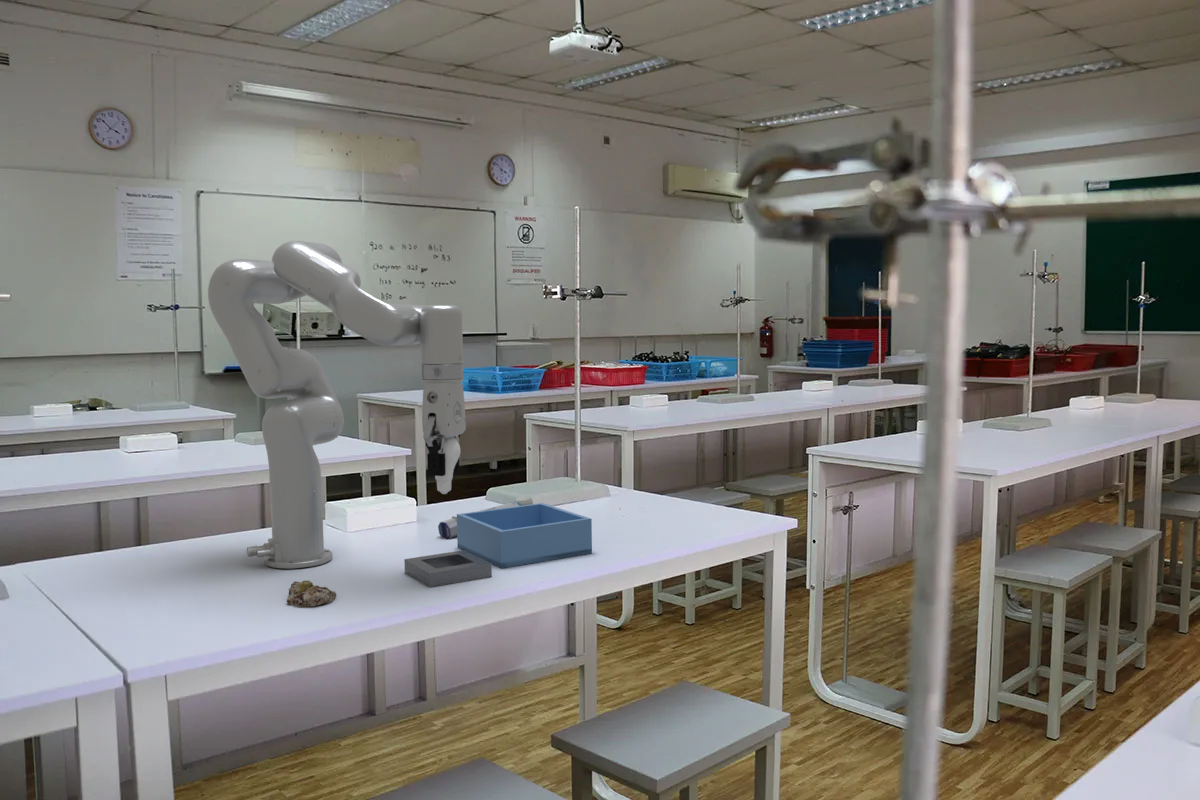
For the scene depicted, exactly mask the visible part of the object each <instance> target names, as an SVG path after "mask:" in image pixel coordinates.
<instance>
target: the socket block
mask: <svg viewBox="0 0 1200 800" xmlns="http://www.w3.org/2000/svg"><path fill="white" fill-rule="evenodd" d="M492 565H493V564H492V563H490V562H488V561H486V560H484V559H482V558H480V557H477V556H475V555H473V554H471V553H469V552H467V551H465V550H461V549H460V550H457V551H456V550H455V551H449V552H443V553H437V554H430V555H424V556H417V557H411V558H405V559H404V573H405V574H406V575H408V576H410V577H412V578H414V579H415V580H417V581H419V582H420V583H422V584H423V583H424V584H423V585H425V584H426V585H425V586H427V587H429V588H433V586H435V587H439V586H438V585H440V586H445V585H444V584H446V585H450V584H449V583H452V584H456V583H455V582H458V583H462V582H463V581H464V582H468V581H469V582H470V581H475V580H480V579H486V578H492V577H493V573H492V570H493V569H492V568H493V567H492Z"/></svg>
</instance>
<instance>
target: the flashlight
mask: <svg viewBox="0 0 1200 800" xmlns="http://www.w3.org/2000/svg"><path fill="white" fill-rule="evenodd" d="M531 504H534V502H533V498H532V497H531V496H530V495H529V496H526V495H525V496H519V497H518V498H515V500H514V501H513V502H508V503H504V504H502V505H497V506H494V507H489V508H486V509H482V510H480V511H485V510H493V509H500V508H508V507H516V506H523V505H531ZM437 527H438V534H439V535H440V537H441V538H443V539H446V540H448V539H452V538H455V537H457V516H455V515H453V516H452V517H451V518H449V519H447V520H444V521H440V522H439V524H438V526H437Z"/></svg>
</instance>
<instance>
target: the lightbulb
mask: <svg viewBox="0 0 1200 800" xmlns="http://www.w3.org/2000/svg"><path fill="white" fill-rule="evenodd" d="M436 436H441V434H438V435H436ZM436 441H437V443H438V445H439V440H436ZM459 443H460V442H459ZM459 443H458V441H457V440H456V439H455V438H454V437H450V438H446V437H445V441H444V449H443V453H445V468H446V474H445V475H444V476H434V478H435V481H436V489H437V490H436V491H438V492H440V493H441V494H442V495H447V494H448V492H451V490H452V480H453V477H454V471H455V470H454V467H455V465H456V463H457V461H458V459H459V460H460V456H461V444H460V445H459Z"/></svg>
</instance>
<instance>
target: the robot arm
mask: <svg viewBox="0 0 1200 800" xmlns="http://www.w3.org/2000/svg"><path fill="white" fill-rule="evenodd" d="M361 282H362V281H361V277H360V275H359V273H358V272H357V271H356V270H355V269H353V268H352V267H350V266H348V265H346V264H344V263H343V262H342V258H341V257H340V255H339V253H338V252H337V250H335V249H334V248H332V247H331V246H329V245H327V244H324V243H319V242H309V241H304V240H303V241H302V240H292V241H291V240H290V241H287V242H285V243H283V244H281V245H279V246H278V247H277V248H276V249H275V251H274V253H273V255H272V257H271V260H270V261H269V260H261V259H260V260H259V259H247V258H245V259H244V258H240V259H239V258H236V259H231V260H228V261H225V262H223V263H221V264H220V265H219V266H217V267H216V269H215V270H214V271H213V273H212V274H211V276H210V279H209V283H208V287H207V289H208V290H207V293H208V294H207V297H208V298H207V299H208V305H209V307H210V308H209V309H210V311H211V313H212V316H213V318H214V319H215V321H216V323H217V325H218V327H219V328H220V330H221V331H222V333H223V335H224V337H225V338H226V339H227V342H228V344H229V346H230V349H231V350H232V353H233V355H234V357H235V359H236V361H237V363H238V365H239V368H240V370H241V372H242V374H243V375H244V378H245V381H246V382H247V384H248V386H249V388H250V389H251V391H252V392H253V393H254V394H255V395H256V396H257V397H258V398H261V399H270V400H271V399H272V400H273V399H280V398H290V399H286V400H282V401H278V402H277V403H275V404H273V405H271V406H270V407H269V408H268V409H267V410H266V411H265V414H264V415H263V417H262V421H261V431H262V433H261V434H262V439H263V440H264V445H265V450H266V455H267V461H268V473H269V474H268V475H269V476H268V477H269V478H268V479H269V491H270V493H269V494H270V495H269V498H270V516H271V517H270V518H271V520H270V521H271V537H272V538H268V540H267V542H264V543H263V544H262V545H253V546H247V547H246V556H247V558H251V557H256V558H264V564H265V565H266V567H267V566H268V567H270V568H274V569H285V570H286V569H302V568H309V567H310V568H311V567H314V566H320V565H323V564H326V563H328V562H330V561H331V560H332V559H333V551H331V550H329V549H327V548H325V547H324V545H325V543H324V521H323V520H324V518H323V513H324V512H323V494H322V493H323V491H322V490H323V489H322V472H321V471H322V469H321V466H320V462H319V459H318V456H317V454H316V452H315V451H316V450H314V446H317V445H321V444H325V443H326V444H327V443H329V442H332V441H334V440H335V439H336V438H338V437H339V436H340V435H341V433H342V431H343V430H344V425H345V419H344V417H345V416H344V412H343V409H342V406H341V404H340V402H339V400H338V397H337V395H336V393H335V391H334V389H333V387H332V386H331V383H330V380H329V378H328V377H327V375H326V373H325V371H324V369H323V367H322V364H321V363H320V362H319V361H318V359H317V357H315V356H314V355H313V354H311V353H310V352H308V351H306V350H305V349H300V348H284V347H283V345H282V344H281V343H280V342H279V339H278V338H277V336H276V333H275V331H274V329H273V327H272V325H271V324H270V322H269V321H268V320H267V318H266V317H264V315H263V314H262V313H261V312H260V311H259V310H258V309H256V307H255V305H254V304H258V305H259V304H260V305H262V304H263V305H279V304H284V303H290V302H292V301H295V300H298V299H301V298H304V297H306V296H307V297H310V298H311V299H313V300H315V301H317V302H318V303H319V304H321V305H323V306H325V307H327V308H329V309H330V310H331V311H332V312H331V313H332V314H333V315H334V316H335V318H336V319H337V320H338V321H339V323H340V324H342V325H343V326H344V327H346V328H347V329H348V330H350V331H352V333H355V334H356V335H359V336H360V337H361V338H364V339H365V340H368V341H370V342H371V343H373V344H376V345H379V346H383V347H395V346H397V347H398V346H414V345H419V347H420V382H421V383H423V392H422V406H421V407H422V408H421V409H422V410H421V416H422V417H421V421H422V422H421V423H422V425H421V426H422V433H423V435H422V436H423V440H424V443H425V447H426V456H427V475H428V476H431V477H435V476H444V475H445V474H446V468H445V453H443V449H444V441H445V437H446V438H450V437H454V438H455V439H456V440H457V441H458V443H459V445H460V446H461V444H460V437H461V434H464V433H465V431H466V429H467V424H466V423H467V420H466V419H467V418H466V406H465V405H466V404H465V393H464V388H463V387H464V386H463V383H462V382H464V364H463V363H464V356H463V355H464V353H463V352H464V351H463V350H464V348H463V347H464V346H463V342H464V341H463V339H464V338H463V336H464V335H463V313H462V309H461V308H460V307H459V306H458V305H454V304H453V305H452V304H432V305H431V304H428V305H422V304H421V305H420V304H415V303H414V304H413V303H412V304H411V303H410V304H409V303H387V302H385V301H383V300H381V299H378V298H377V297H375V296H373V295H371V294H370V293H368V292H366V291H364V290H363V289H362V288H361ZM440 434H441V436H437V435H440ZM436 440H439V445H438V443H437V441H436ZM459 469H460V458H459V459H458V461H457V463H456V465H455V467H454V470H453V471H457V470H459Z"/></svg>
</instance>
